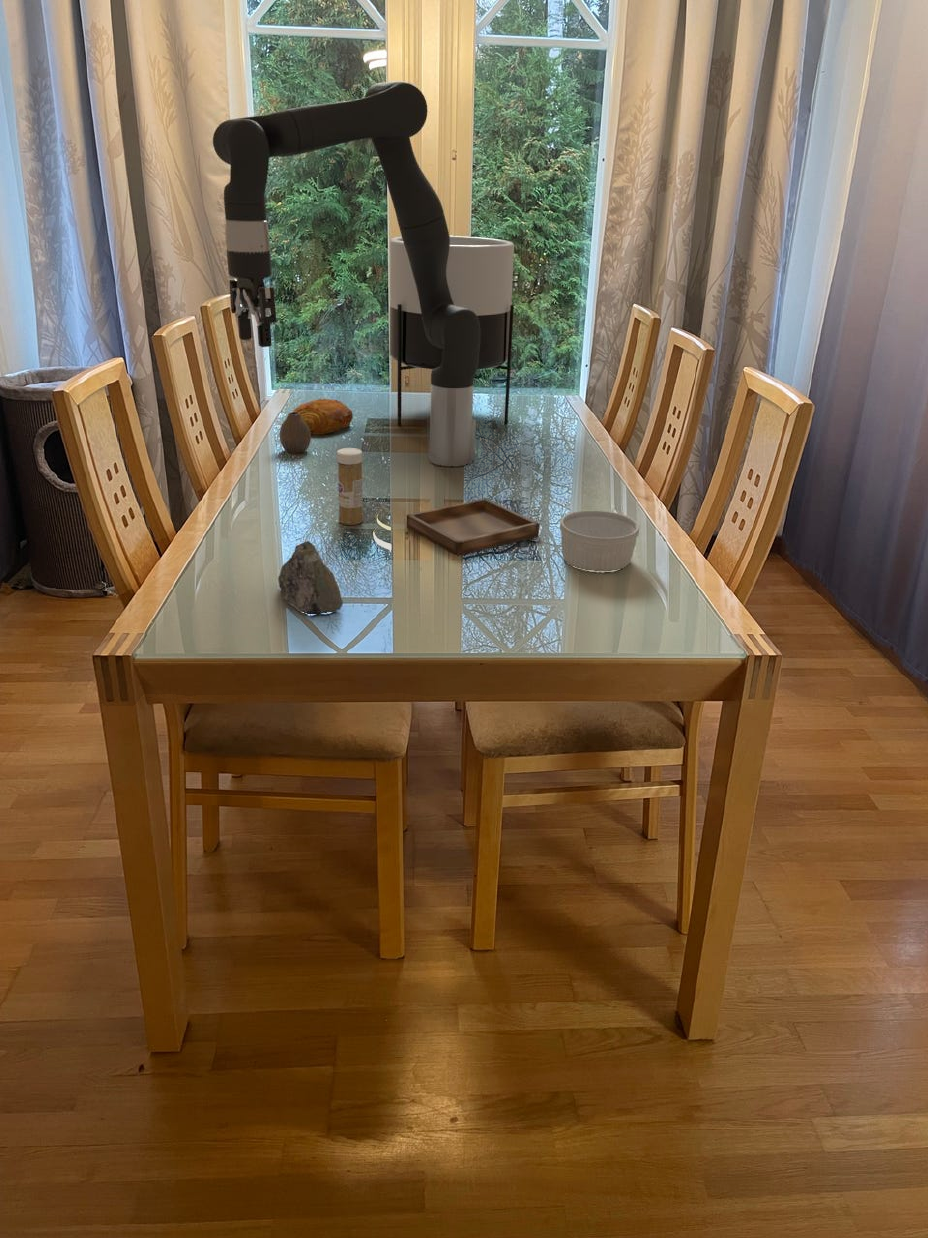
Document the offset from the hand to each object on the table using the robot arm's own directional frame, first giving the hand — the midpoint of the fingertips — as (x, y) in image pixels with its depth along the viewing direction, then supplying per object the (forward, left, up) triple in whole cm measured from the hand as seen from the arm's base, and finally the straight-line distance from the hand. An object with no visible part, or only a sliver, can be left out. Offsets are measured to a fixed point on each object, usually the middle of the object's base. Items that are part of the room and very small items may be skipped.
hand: (255, 342), depth 169 cm
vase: (-19, -24, -30) cm, 43 cm away
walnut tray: (-23, +38, -29) cm, 53 cm away
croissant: (-34, -40, -30) cm, 60 cm away
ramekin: (-33, +60, -30) cm, 74 cm away
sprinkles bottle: (-7, +22, -29) cm, 37 cm away
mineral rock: (+15, +48, -30) cm, 58 cm away
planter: (-67, -32, -30) cm, 80 cm away
